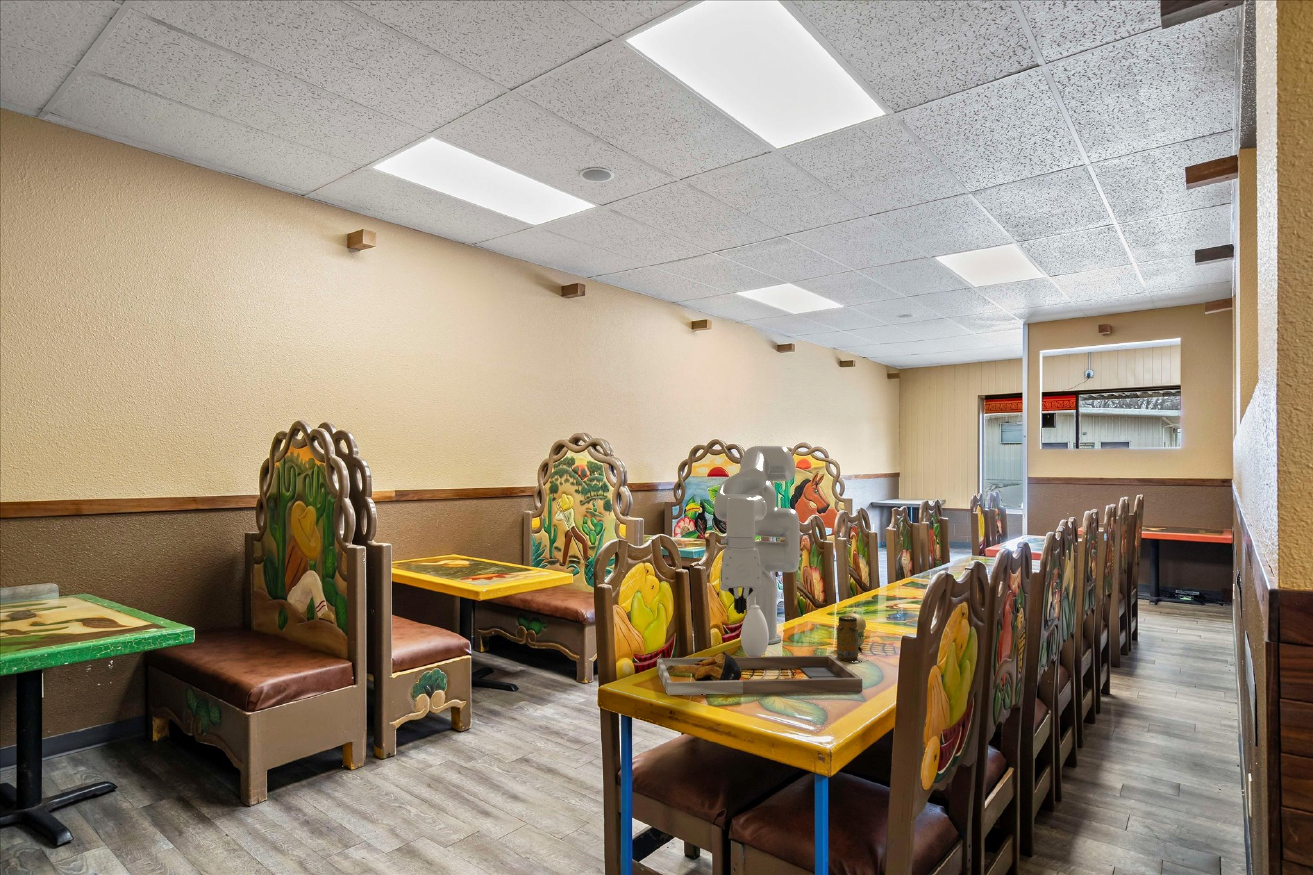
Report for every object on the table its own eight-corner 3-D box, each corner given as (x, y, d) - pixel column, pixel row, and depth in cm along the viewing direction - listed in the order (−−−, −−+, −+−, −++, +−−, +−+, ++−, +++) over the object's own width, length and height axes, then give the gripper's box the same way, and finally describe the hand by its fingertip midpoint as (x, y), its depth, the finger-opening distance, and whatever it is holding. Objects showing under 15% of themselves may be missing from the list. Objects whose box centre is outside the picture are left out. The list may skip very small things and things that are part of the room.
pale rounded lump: (859, 644, 228) (859, 606, 228) (870, 650, 220) (870, 611, 221) (836, 645, 226) (837, 607, 227) (846, 651, 219) (846, 611, 220)
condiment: (845, 654, 216) (845, 613, 217) (869, 660, 210) (869, 618, 210) (830, 657, 212) (830, 616, 212) (854, 664, 205) (854, 622, 206)
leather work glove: (747, 673, 179) (679, 650, 178) (730, 706, 183) (664, 684, 182) (745, 650, 188) (680, 628, 187) (729, 682, 192) (666, 660, 191)
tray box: (656, 669, 197) (657, 658, 197) (830, 665, 203) (830, 655, 203) (667, 695, 175) (667, 683, 175) (862, 691, 181) (862, 678, 181)
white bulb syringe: (755, 663, 204) (756, 600, 205) (735, 658, 210) (736, 596, 210) (773, 659, 209) (774, 596, 210) (753, 653, 215) (753, 593, 216)
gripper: (715, 545, 186) (714, 616, 186) (771, 544, 188) (771, 615, 187) (710, 541, 193) (709, 610, 193) (764, 541, 195) (764, 609, 195)
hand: (740, 612), depth 190 cm, fingers closed
